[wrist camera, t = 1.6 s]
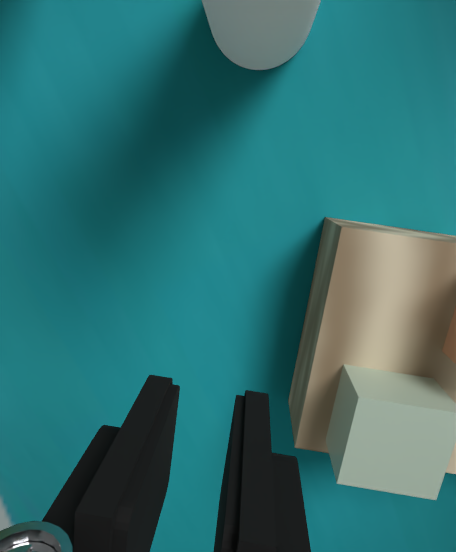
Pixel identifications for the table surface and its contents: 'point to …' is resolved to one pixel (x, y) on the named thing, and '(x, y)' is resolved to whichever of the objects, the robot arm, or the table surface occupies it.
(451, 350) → the salmon rectangular block
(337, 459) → the pale green block
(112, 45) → the table surface
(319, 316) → the striped wooden block
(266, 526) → the robot arm
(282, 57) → the cylindrical container
